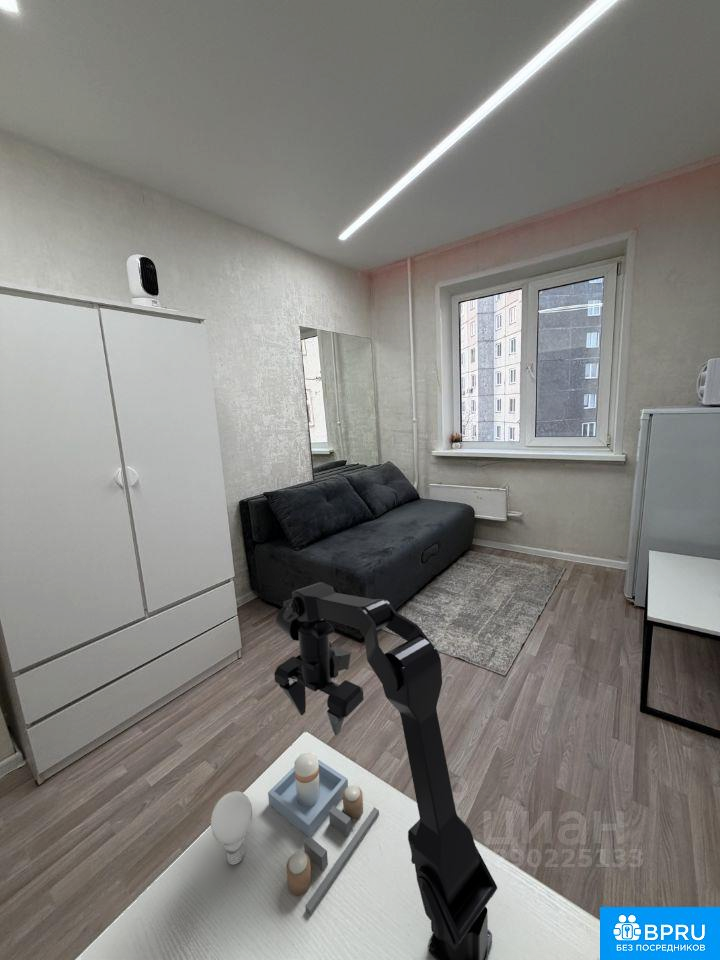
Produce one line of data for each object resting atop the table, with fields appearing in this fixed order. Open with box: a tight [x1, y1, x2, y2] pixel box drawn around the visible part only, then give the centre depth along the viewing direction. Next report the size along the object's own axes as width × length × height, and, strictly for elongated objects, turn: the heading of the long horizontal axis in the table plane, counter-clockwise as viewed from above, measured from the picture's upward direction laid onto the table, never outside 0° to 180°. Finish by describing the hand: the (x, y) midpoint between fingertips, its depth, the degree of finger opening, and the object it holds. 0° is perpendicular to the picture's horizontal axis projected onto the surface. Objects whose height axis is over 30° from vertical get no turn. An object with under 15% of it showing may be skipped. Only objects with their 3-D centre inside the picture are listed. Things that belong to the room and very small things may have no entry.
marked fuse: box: [293, 752, 320, 807], centre depth 71 cm, size 4×4×7 cm
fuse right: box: [342, 784, 364, 821], centre depth 69 cm, size 4×4×4 cm
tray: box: [267, 759, 349, 838], centre depth 72 cm, size 11×11×2 cm
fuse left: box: [285, 851, 312, 897], centre depth 58 cm, size 4×4×4 cm
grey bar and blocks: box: [303, 806, 380, 916], centre depth 63 cm, size 6×18×2 cm, turn 143°
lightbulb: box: [210, 790, 253, 865], centre depth 61 cm, size 6×6×11 cm
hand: (319, 723), depth 74 cm, fingers open, 9 cm apart
